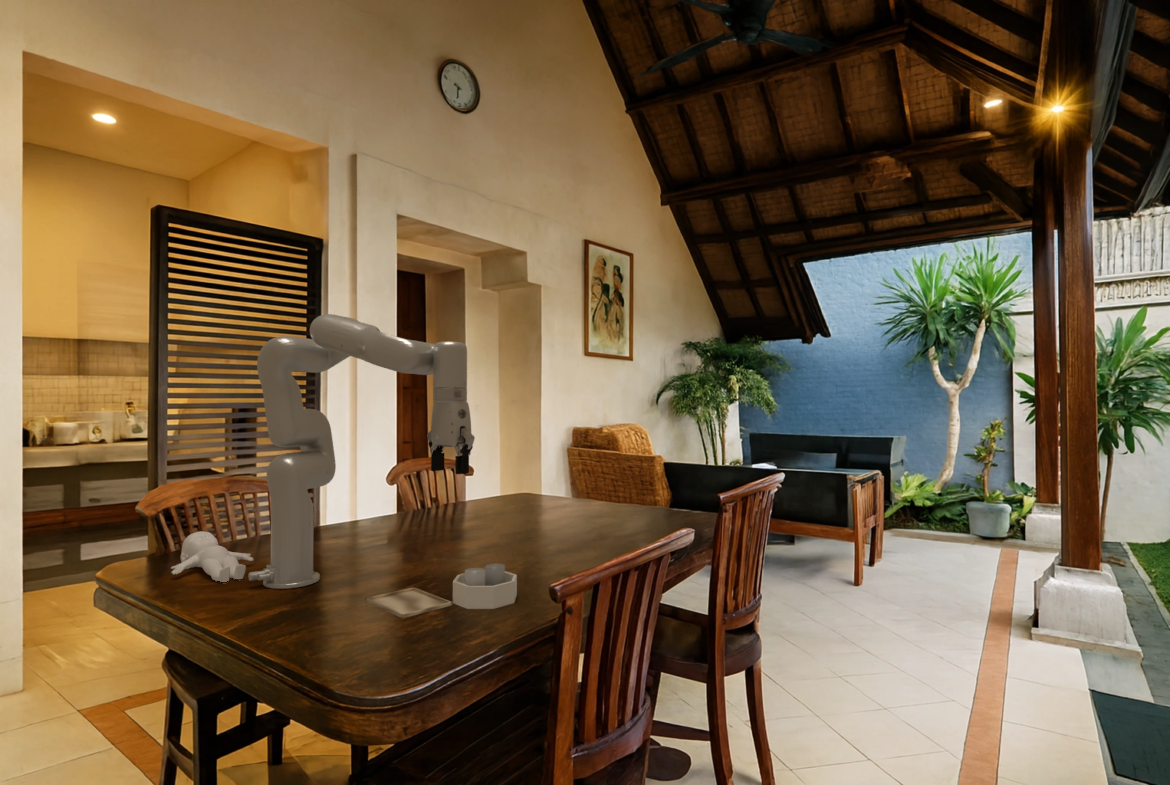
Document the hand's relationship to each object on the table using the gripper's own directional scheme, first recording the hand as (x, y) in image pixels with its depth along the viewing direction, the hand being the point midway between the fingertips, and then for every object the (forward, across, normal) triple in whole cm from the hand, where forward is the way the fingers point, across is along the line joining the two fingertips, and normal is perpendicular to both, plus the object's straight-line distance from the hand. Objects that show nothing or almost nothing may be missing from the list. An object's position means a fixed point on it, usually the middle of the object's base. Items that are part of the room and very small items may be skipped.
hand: (449, 472), depth 145 cm
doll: (+29, +63, +31) cm, 76 cm away
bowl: (+28, -8, -4) cm, 30 cm away
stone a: (+27, -8, -2) cm, 28 cm away
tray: (+28, +2, +9) cm, 30 cm away
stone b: (+28, -7, -7) cm, 29 cm away
